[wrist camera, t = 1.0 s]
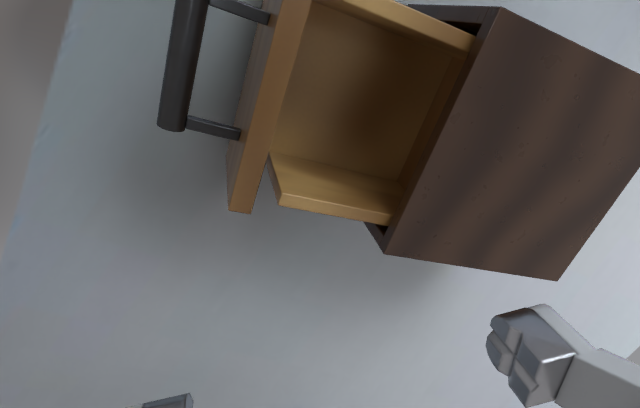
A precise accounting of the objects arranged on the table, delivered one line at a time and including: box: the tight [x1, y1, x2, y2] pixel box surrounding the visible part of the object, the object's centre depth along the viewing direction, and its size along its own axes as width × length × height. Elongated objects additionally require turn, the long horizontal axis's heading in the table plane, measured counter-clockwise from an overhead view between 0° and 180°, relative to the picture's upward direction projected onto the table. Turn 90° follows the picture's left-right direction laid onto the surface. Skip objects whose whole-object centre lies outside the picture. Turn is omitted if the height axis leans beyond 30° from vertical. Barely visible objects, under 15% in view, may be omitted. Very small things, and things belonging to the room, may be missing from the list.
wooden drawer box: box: [363, 4, 640, 281], centre depth 26 cm, size 15×14×10 cm
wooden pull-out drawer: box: [157, 0, 476, 226], centre depth 22 cm, size 18×12×8 cm
